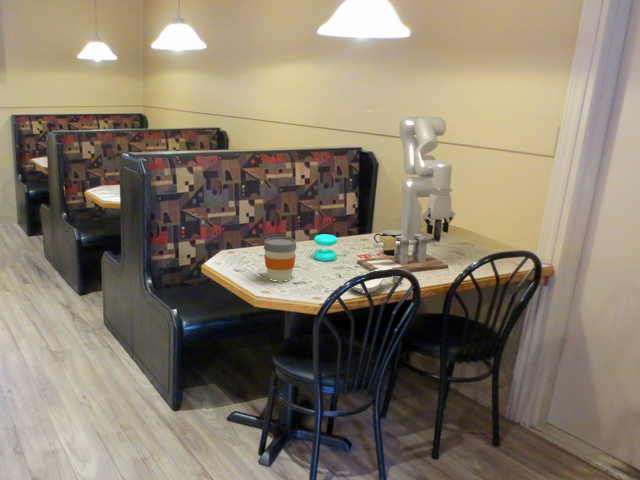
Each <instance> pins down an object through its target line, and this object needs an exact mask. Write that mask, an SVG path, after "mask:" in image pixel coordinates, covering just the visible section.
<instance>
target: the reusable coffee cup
mask: <svg viewBox="0 0 640 480" xmlns="http://www.w3.org/2000/svg"><path fill="white" fill-rule="evenodd" d="M263 250H264V253H265V254H264V256H263V258H264V263H265V268H266V272H267V279H268V278H269V279H272V280H277V281H285V280H289V279H291V280H292V275H293V269H294V267H295V262H296V250H297V242H296V240H295V239H293V238H291V237H284V236H283V237H282V236H281V237H280V236H278V237H277V236H275V237H274V236H273V237H269V238H266V239H264V243H263ZM269 279H268V280H269ZM289 281H290V280H289Z"/></svg>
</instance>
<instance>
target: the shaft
mask: <svg viewBox="0 0 640 480" xmlns="http://www.w3.org/2000/svg"><path fill="white" fill-rule="evenodd" d="M442 227H443V220H442V219H434V225H433V237H431V238H428V237H427V244H433V243H434V244H435V243H440V242H441V237H442ZM414 244H419V239H417V240H409V246H413V245H414ZM396 246H401V241H396ZM382 247H384V243H377V242H375V243H373V248H374V249H383V248H382Z"/></svg>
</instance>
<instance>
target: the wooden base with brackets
mask: <svg viewBox="0 0 640 480" xmlns="http://www.w3.org/2000/svg"><path fill="white" fill-rule="evenodd" d="M395 238H396V241H401V246H396V249H395V252H394V256H385V257H384V256H383V257H374V258H366V259H365V258H363V259H357V260H356V264H357V265H359V267H362V268H364V269H365V270H368V271H369V272H370V271H374V270H377V269H379V268H382V267H390V268H392V269H404V270H407V271H409V273H415V272H416V273H417V272H425V271H426V272H427V271H432V270H433V271H434V270H443V269H449V264H448V263H445V262H443V261H441V260H439V259H438V258H436V257H433V256H431V255H429V254H427V249H428V248H427V247H428V243H427V239H428V237H427V236H425V235H422V234H421V233H420V234H416V235H414V237H413V240H417V239H419V244H414V245H412V252H411V254H409V246H410V245H409V239H408V238H406V237H403V236H395Z"/></svg>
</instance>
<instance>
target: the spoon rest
mask: <svg viewBox="0 0 640 480" xmlns="http://www.w3.org/2000/svg"><path fill="white" fill-rule="evenodd" d="M387 269H392V268H390V267H382V268H379V269H377V270H374V271H378V270H387ZM372 272H373V271H372ZM392 277H393V276H392ZM384 279H385V277H384V278H381V279H375V280H370V281H367V282H365V285H366V287H367V289H368V291H369V293H368V294H371V293H374V292H375V291H376V290H377V289H378V288H379V287H380V286H381V284H382V283H383V281H384ZM398 279H399V277H393V278H392V279H391V280H392V282H394V283H396V281H397V280H398ZM359 286H360V285H359ZM352 290H353V291H355V290H356V291H360V292H363V289H362V288H360V287H353V289H352ZM356 291H355V292H356Z"/></svg>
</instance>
